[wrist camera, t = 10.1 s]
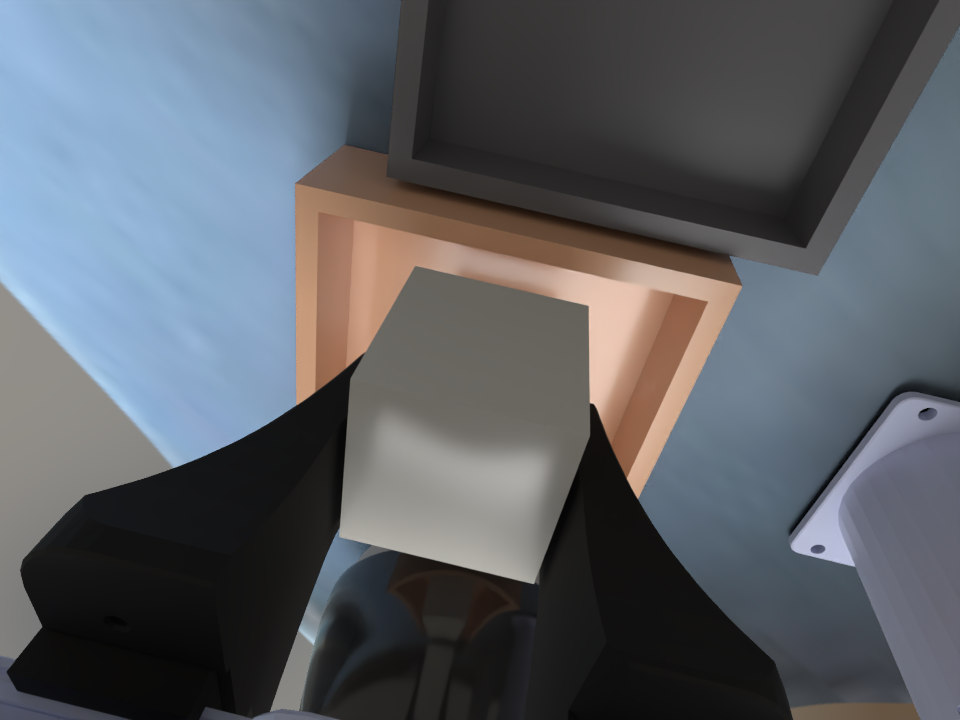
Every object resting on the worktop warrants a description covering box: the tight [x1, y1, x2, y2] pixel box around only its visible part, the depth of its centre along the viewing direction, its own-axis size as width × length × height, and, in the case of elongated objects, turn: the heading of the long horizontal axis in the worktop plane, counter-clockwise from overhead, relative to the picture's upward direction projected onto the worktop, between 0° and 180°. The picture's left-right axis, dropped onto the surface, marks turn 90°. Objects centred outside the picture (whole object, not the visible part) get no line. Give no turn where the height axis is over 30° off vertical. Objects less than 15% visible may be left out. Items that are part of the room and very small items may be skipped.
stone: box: [339, 266, 590, 584], centre depth 13 cm, size 4×4×4 cm
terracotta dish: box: [295, 145, 742, 499], centre depth 19 cm, size 11×11×4 cm
